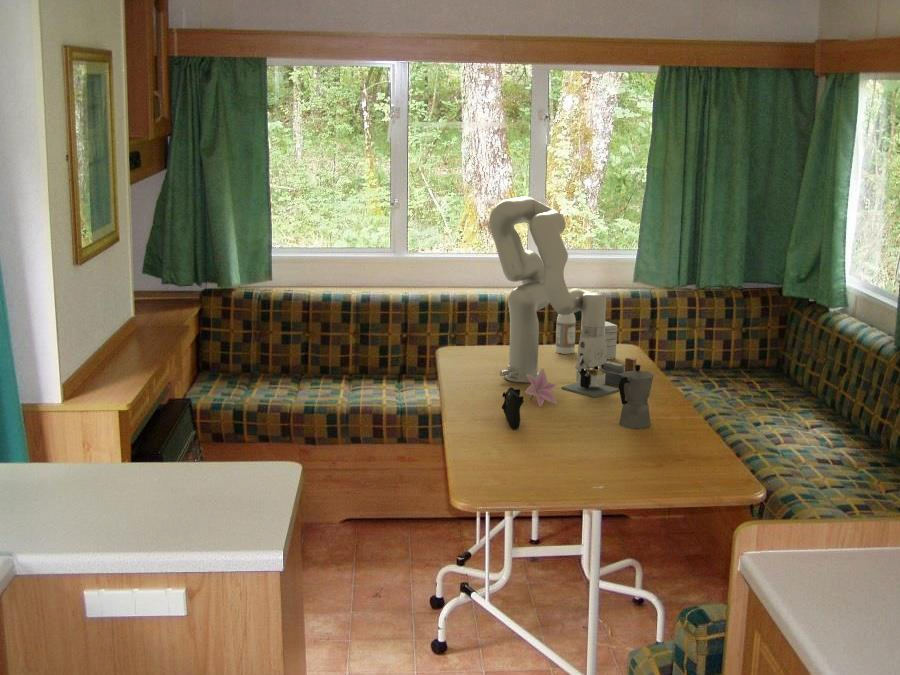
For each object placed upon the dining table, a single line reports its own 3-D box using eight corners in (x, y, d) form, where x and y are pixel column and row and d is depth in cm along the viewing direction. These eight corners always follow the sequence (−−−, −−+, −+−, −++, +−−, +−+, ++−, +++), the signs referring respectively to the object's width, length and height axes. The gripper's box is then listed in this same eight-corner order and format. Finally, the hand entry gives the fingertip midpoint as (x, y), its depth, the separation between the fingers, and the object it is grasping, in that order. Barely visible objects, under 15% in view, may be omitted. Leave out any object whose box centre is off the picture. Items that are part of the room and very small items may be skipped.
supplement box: (587, 356, 404) (589, 322, 402) (605, 354, 408) (606, 320, 405) (598, 361, 398) (600, 326, 395) (616, 359, 401) (618, 324, 398)
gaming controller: (498, 415, 333) (498, 383, 331) (518, 415, 333) (519, 383, 331) (503, 430, 319) (504, 397, 317) (524, 430, 320) (525, 397, 317)
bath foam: (564, 355, 405) (566, 301, 400) (551, 351, 411) (553, 298, 406) (578, 353, 409) (580, 299, 404) (565, 349, 415) (567, 296, 410)
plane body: (626, 388, 363) (628, 361, 361) (583, 377, 376) (584, 351, 374) (641, 384, 369) (643, 357, 367) (598, 373, 381) (600, 347, 379)
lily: (518, 410, 342) (531, 387, 337) (512, 386, 352) (525, 363, 347) (552, 419, 346) (566, 396, 341) (546, 395, 355) (559, 372, 350)
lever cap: (595, 386, 357) (596, 372, 356) (576, 381, 362) (576, 367, 361) (605, 384, 360) (605, 370, 359) (585, 379, 366) (586, 365, 364)
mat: (595, 397, 353) (595, 396, 353) (561, 388, 362) (561, 386, 362) (619, 390, 361) (619, 389, 361) (585, 382, 371) (585, 380, 370)
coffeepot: (633, 416, 334) (636, 357, 330) (660, 423, 328) (664, 363, 324) (603, 427, 323) (606, 367, 319) (631, 434, 317) (634, 373, 313)
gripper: (584, 336, 349) (582, 393, 353) (618, 329, 360) (615, 383, 365) (566, 332, 354) (564, 388, 358) (600, 325, 366) (597, 378, 370)
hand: (590, 385), depth 361 cm, fingers closed on lever cap, 4 cm apart
